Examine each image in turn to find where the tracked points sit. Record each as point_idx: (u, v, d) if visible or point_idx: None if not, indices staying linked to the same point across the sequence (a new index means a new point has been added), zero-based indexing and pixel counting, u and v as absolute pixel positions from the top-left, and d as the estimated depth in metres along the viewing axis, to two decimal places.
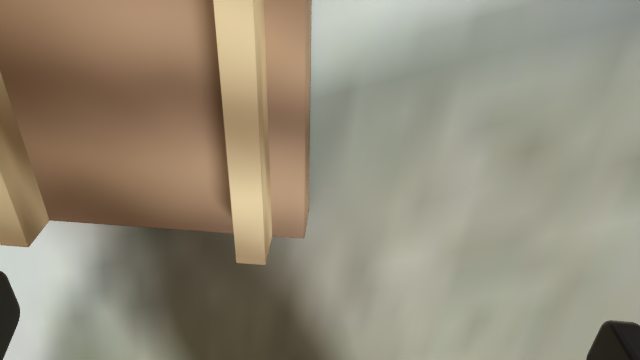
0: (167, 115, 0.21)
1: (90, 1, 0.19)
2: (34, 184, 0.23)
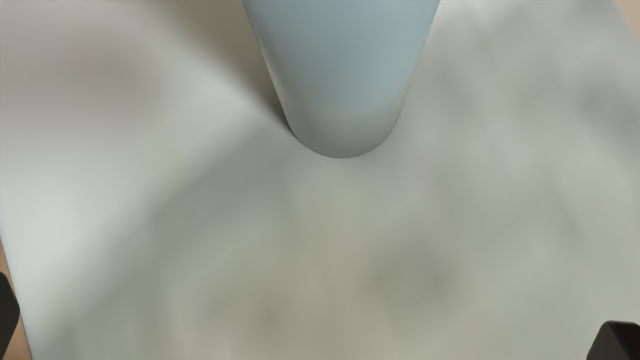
0: None
1: None
2: None
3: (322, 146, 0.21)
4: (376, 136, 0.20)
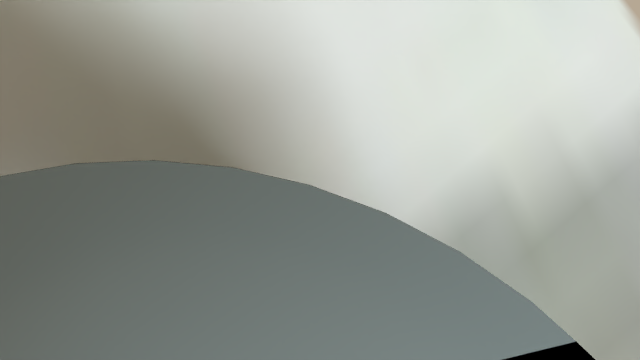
0: None
1: None
2: None
3: None
4: None
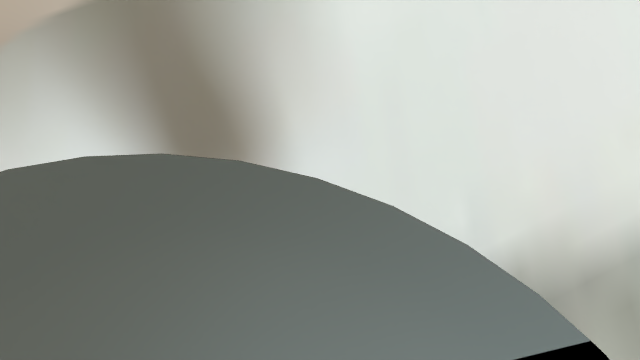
0: None
1: None
2: None
3: None
4: None
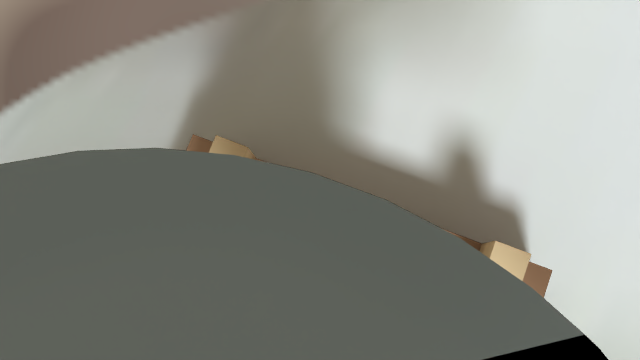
0: None
1: None
2: None
3: None
4: None
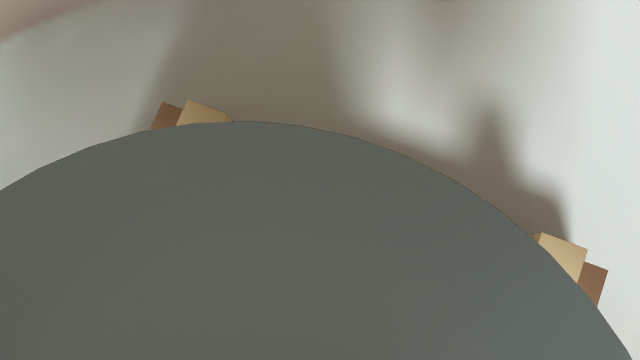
0: None
1: None
2: None
3: None
4: None
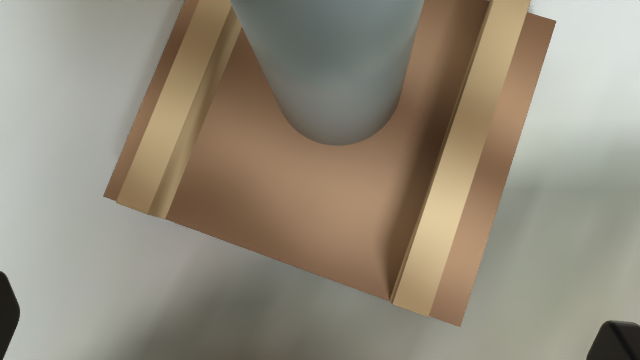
0: None
1: None
2: (184, 166, 0.21)
3: (317, 132, 0.19)
4: (376, 118, 0.18)
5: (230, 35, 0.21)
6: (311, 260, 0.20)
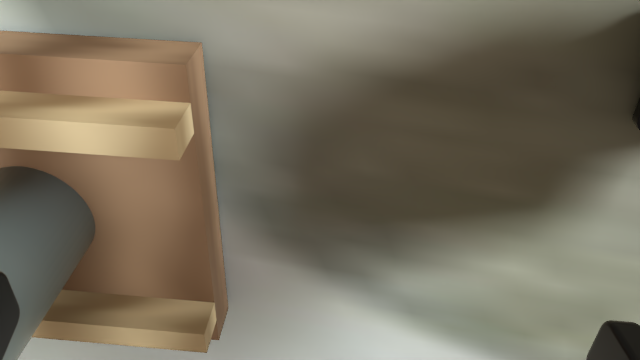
0: None
1: None
2: (168, 302, 0.25)
3: (74, 243, 0.21)
4: (31, 213, 0.20)
5: None
6: (192, 201, 0.21)
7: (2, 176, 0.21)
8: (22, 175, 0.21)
